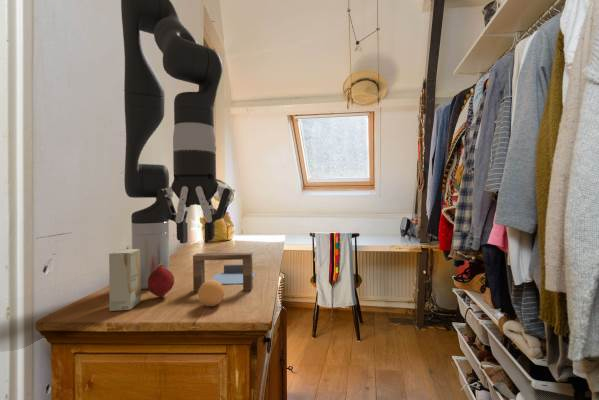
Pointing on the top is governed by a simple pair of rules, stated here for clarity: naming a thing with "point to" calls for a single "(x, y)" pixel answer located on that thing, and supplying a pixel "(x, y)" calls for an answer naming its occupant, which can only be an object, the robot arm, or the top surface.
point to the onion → (160, 281)
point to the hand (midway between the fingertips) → (196, 242)
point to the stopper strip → (233, 268)
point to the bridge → (201, 257)
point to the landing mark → (229, 278)
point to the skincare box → (124, 279)
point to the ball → (211, 293)
